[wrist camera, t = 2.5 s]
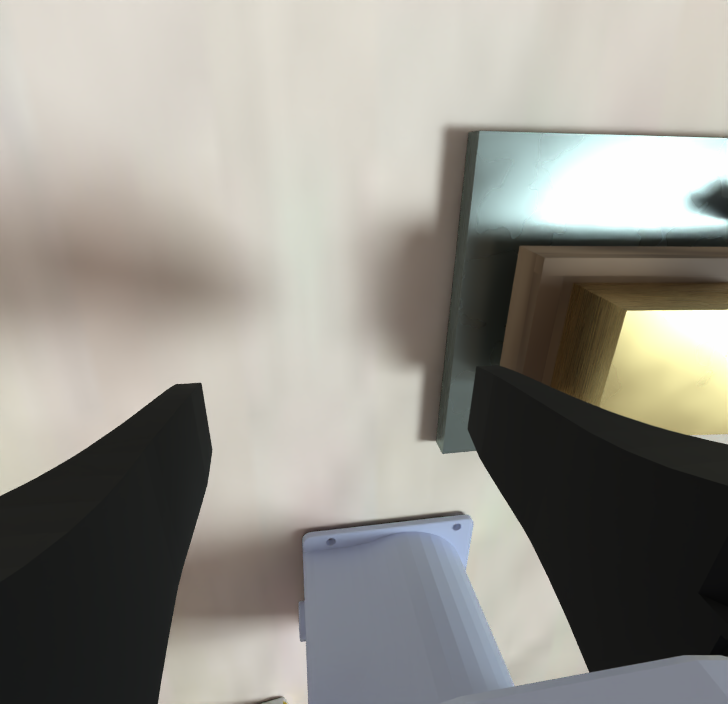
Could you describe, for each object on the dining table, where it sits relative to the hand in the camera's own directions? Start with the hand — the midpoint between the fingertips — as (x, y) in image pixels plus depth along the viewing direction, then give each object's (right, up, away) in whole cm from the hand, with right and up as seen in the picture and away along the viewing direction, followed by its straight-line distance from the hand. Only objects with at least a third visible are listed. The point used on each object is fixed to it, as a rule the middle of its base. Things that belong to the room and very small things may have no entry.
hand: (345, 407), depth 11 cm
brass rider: (+11, +2, +5) cm, 12 cm away
